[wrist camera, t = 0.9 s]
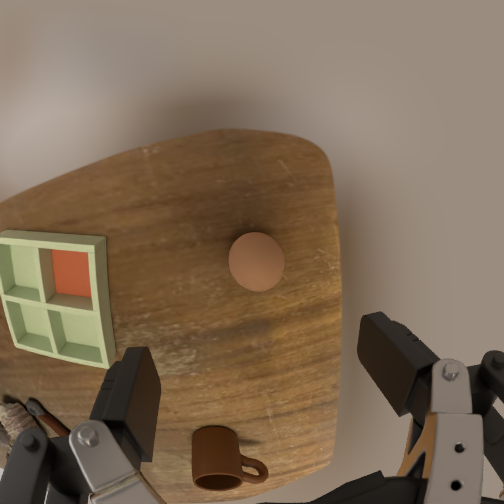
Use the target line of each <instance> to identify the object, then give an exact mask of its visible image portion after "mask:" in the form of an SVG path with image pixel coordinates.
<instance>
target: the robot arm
mask: <svg viewBox="0 0 504 504" xmlns="http://www.w3.org/2000/svg"><path fill="white" fill-rule="evenodd" d="M357 353H358V358H359V360H360V362H361V364H362V365H363V366H364V368H365V369H366V371H367V372H368V373H369V375H370V376H371V378H372V379H373V380H374V382H375V383H376V385H377V386H378V387H379V389H380V390H381V391H382V393H383V394H384V396H385V397H386V399H387V400H388V401H389V403H390V404H391V406H392V407H393V409H394V410H395V412H396V413H397V415H398V416H399V417H401V416H403V415H405V414H407V413H411V414H412V418H411V422H410V427H409V433H408V438H407V444H406V449H405V453H404V458H403V462H402V464H401V467H400V469H399V471H398V474H397V476H392V477H384V476H383V474H382V472H381V471H380V470H379V471H377V472H375V473H372V474H369V475H367V476H364V477H361V478H359V479H356V480H353V481H350V482H347V483H345V484H343V485H342V486H340V487H338V488H336V489H334V490H333V491H331V492H329V493H327V494H325V495H323V496H321V497H320V498H317V499H315V500H314V501H311V502H306V503H266V502H265V503H259V504H504V485H503V490H502V491H501V492H500V495H499V497H500V500H498V499H492V498H487V497H482V496H481V493H482V482H483V455H485V456H486V458H487V459H488V460H489V462H490V464H491V465H492V467H493V468H494V470H495V471H496V473H497V474H498V476H499V477H500V479H501V480H502V482H503V484H504V419H503V418H502V416H501V415H500V414H499V413H498V412H497V410H496V409H495V408H494V407H493V406H492V405H493V404H494V402H495V400H496V399H497V397H499V399H500V400H501V401H502V402H503V403H504V353H503V352H501V351H497V350H493V351H489V352H487V353H486V354H485V355H484V357H483V359H482V361H481V364H479V365H474V366H469V367H466V366H464V364H463V363H461V362H460V361H457V360H454V359H442V360H441V359H440V358H439V357H437V355H435V354H434V353H433V352H432V351H431V350H430V349H429V348H428V347H427V346H426V345H425V344H424V343H423V342H422V341H421V340H419V338H418V337H417V336H415V335H414V334H412V332H411V331H410V330H409V329H408V328H407V327H406V326H404V325H402V324H400V323H398V322H396V321H391V320H390V319H389V318H388V317H387V316H386V315H385V314H384V313H383V312H376V313H372V314H368V315H363V316H362V318H361V323H360V330H359V338H358V346H357ZM160 396H161V383H160V379H159V376H158V373H157V370H156V367H155V364H154V362H153V359H152V356H151V353H150V350H149V348H148V347H128V348H127V349H126V351H125V354H124V357H123V359H122V361H116V362H115V363H114V364H113V365H112V366H111V367H110V368H109V369H108V370H107V373H106V375H105V378H104V382H103V383H102V385H101V390H100V391H99V393H98V396H97V398H96V401H95V404H94V406H93V409H92V412H91V415H90V418H89V420H86V421H83V422H81V423H79V424H77V425H76V426H75V427H74V428H73V429H72V431H71V432H70V435H69V436H62V437H54V438H49V437H48V436H47V435H46V434H45V433H44V431H43V430H41V429H39V428H36V427H30V428H27V429H25V430H23V431H22V432H20V433H19V434H18V436H17V437H16V439H15V442H14V444H13V447H12V449H11V452H10V455H9V457H8V460H7V463H6V466H5V469H4V472H3V475H2V478H1V481H0V504H44V501H45V496H46V491H47V487H48V484H49V485H50V486H49V490H48V495H47V500H46V504H88V496H89V493H93V495H90V500H91V502H92V504H167V503H166V502H165V501H164V500H163V499H162V498H161V496H160V495H159V494H158V493H157V492H156V490H155V489H154V488H153V487H152V486H151V484H150V483H149V482H148V480H147V479H146V478H145V477H144V475H143V474H142V473H141V471H140V466H141V462H152V457H153V448H154V439H155V431H156V424H157V416H158V409H159V403H160Z"/></svg>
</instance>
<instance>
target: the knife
mask: <svg viewBox="0 0 504 504" xmlns="http://www.w3.org/2000/svg"><path fill="white" fill-rule="evenodd" d="M26 407H27V410H28V411H29V413H31V414H32V415H34V416H37V417H39V418H40V419H41V420H42V421H44V422H45V423H46V424H47V425H48V426H50V427H51V428H52V429H53V430H54V431H55V432H56V433H57V434H58V435H59V436H60V437H62V436H69V435H70V432H69V431H68V430H66V429H65V428H64V427H63V426H62V425H61V424H60V423H59V422H58V421H57V420H56V419H54V418H53V417H52V416H51V415H49V414H48V413H46V412H45V411H44V410H42V408H41V406H40V405H39V404H38V403H37V402H36V401H27V402H26Z"/></svg>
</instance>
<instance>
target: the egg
mask: <svg viewBox="0 0 504 504" xmlns="http://www.w3.org/2000/svg"><path fill="white" fill-rule="evenodd" d="M228 262H229V268H230V271H231V274H232V276H233V277H234V279H235V280H236V281H237V282H238V284H240V285H241V286H243V287H244V288H246V289H249V290H252V291H265V290H268V289H270V288H272V287H274V286H275V285H276V284H277V283H278V282H279V280H280V279H281V277H282V274H283V271H284V267H285V261H284V255H283V252H282V250H281V248H280V246H279V245H278V244H277V242H276V241H275V240H274V239H273V238H271V237H270V236H268V235H266V234H264V233H260V232H251V233H247V234H244V235H242V236H241V237H239V238H238V239H237V240H236V241H235V242H234V244H233V245H232V247H231V249H230V252H229V257H228Z"/></svg>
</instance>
